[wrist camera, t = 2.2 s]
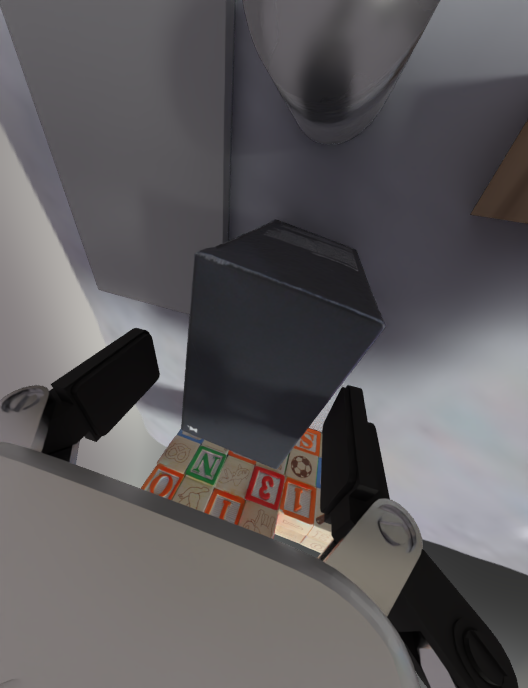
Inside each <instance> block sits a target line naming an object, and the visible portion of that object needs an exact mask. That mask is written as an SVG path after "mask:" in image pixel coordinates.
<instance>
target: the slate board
mask: <svg viewBox="0 0 528 688" xmlns="http://www.w3.org/2000/svg"><path fill="white" fill-rule="evenodd" d="M0 6H1V9H2V12H3V15H4V18H5V20H6V23H7V26H8V29H9V32H10V35H11V38H12V41H13V44H14V47H15V49H16V52H17V55H18V58H19V61H20V64H21V67H22V70H23V73H24V75H25V78H26V81H27V84H28V87H29V90H30V93H31V96H32V99H33V101H34V104H35V107H36V110H37V113H38V116H39V119H40V122H41V125H42V127H43V130H44V133H45V136H46V139H47V142H48V145H49V148H50V151H51V153H52V156H53V159H54V162H55V165H56V168H57V171H58V174H59V177H60V179H61V182H62V185H63V188H64V191H65V194H66V197H67V200H68V203H69V206H70V208H71V211H72V214H73V217H74V220H75V223H76V226H77V229H78V232H79V234H80V237H81V240H82V243H83V246H84V249H85V252H86V255H87V258H88V260H89V263H90V266H91V269H92V272H93V275H94V278H95V281H96V284H97V286H98V289H99V290H101V291H105V292H109V293H112V294H116V295H120V296H123V297H127V298H131V299H134V300H138V301H142V302H145V303H149V304H153V305H156V306H160V307H164V308H167V309H171V310H175V311H178V312H182V313H186V314H189V315H190V303H191V290H192V278H193V267H194V254H195V253H196V252H197V251H199V250H202V249H205V248H209V247H214V246H216V245H219V244H222V243H225V242H228V231H229V195H230V160H231V125H232V90H233V55H234V19H235V0H0Z"/></svg>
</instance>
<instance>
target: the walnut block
mask: <svg viewBox="0 0 528 688" xmlns="http://www.w3.org/2000/svg"><path fill="white" fill-rule="evenodd" d="M470 215H476V216H482V217H489V218H495V219H501V220H507V221H514V222H520V223H526V224H528V120H527V122H526V123H525V125H524V127H523V128H522V130H521V131H520V133H519V135H518V136H517V138H516V140H515V141H514V143H513V145H512V146H511V148H510V150H509V151H508V153H507V155H506V156H505V158H504V160H503V161H502V163H501V165H500V166H499V168H498V170H497V171H496V173H495V175H494V176H493V178H492V179H491V181H490V183H489V184H488V186H487V188H486V189H485V191H484V193H483V194H482V196H481V198H480V199H479V201H478V203H477V204H476V206H475V208H474V209H473V211H472V213H471V214H470Z"/></svg>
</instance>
